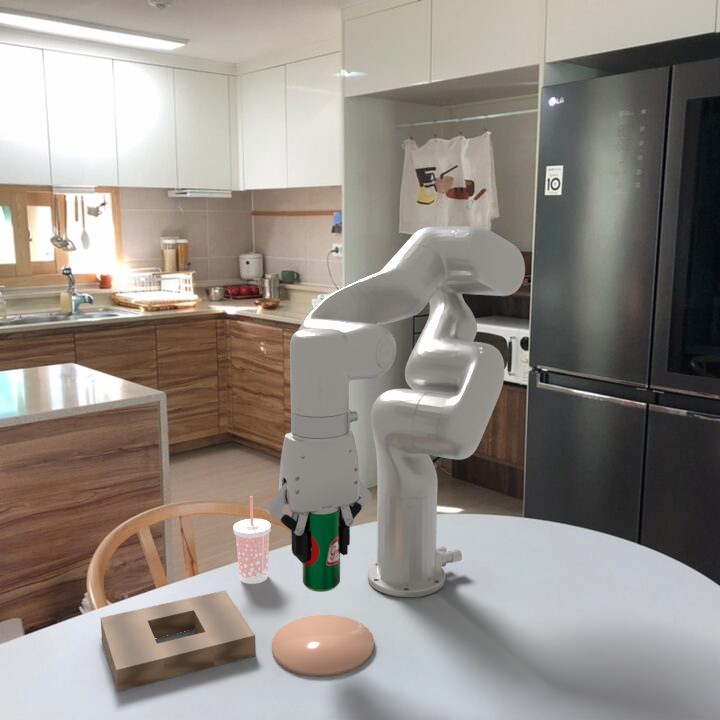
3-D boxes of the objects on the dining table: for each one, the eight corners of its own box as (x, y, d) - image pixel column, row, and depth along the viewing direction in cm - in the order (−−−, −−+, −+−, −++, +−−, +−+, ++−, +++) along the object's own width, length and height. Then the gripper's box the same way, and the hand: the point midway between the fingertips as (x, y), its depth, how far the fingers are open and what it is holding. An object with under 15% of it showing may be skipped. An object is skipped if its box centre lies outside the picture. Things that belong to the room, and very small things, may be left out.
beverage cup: (257, 565, 130) (255, 486, 127) (279, 577, 126) (278, 496, 123) (227, 577, 126) (224, 496, 123) (249, 589, 121) (247, 506, 119)
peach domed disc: (347, 611, 115) (347, 606, 114) (391, 659, 102) (392, 654, 102) (257, 634, 109) (257, 629, 108) (294, 687, 96) (293, 682, 96)
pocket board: (226, 608, 116) (225, 590, 115) (255, 655, 103) (255, 635, 103) (101, 637, 108) (100, 617, 107) (117, 691, 96) (116, 669, 95)
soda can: (335, 595, 101) (335, 508, 98) (298, 591, 102) (297, 505, 99) (343, 578, 105) (343, 495, 103) (308, 574, 106) (307, 492, 104)
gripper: (365, 410, 107) (365, 534, 110) (248, 424, 99) (251, 556, 102) (391, 423, 100) (390, 554, 103) (267, 439, 93) (270, 579, 96)
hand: (321, 553), depth 103 cm, fingers closed on soda can, 5 cm apart
